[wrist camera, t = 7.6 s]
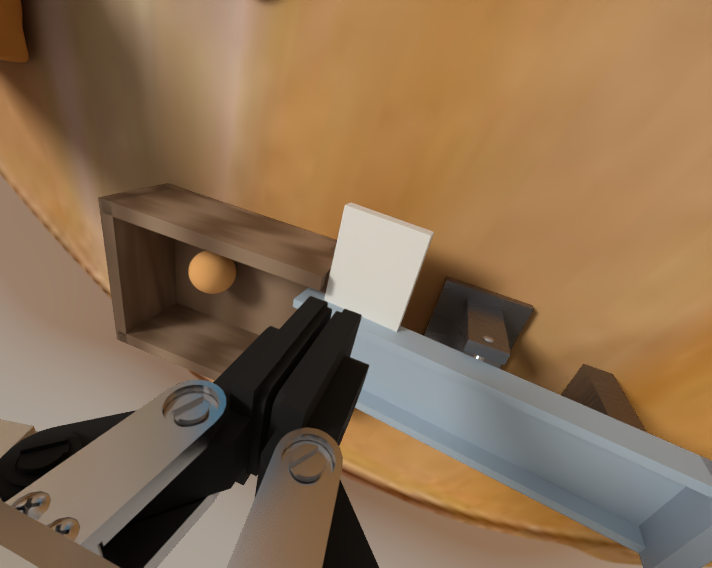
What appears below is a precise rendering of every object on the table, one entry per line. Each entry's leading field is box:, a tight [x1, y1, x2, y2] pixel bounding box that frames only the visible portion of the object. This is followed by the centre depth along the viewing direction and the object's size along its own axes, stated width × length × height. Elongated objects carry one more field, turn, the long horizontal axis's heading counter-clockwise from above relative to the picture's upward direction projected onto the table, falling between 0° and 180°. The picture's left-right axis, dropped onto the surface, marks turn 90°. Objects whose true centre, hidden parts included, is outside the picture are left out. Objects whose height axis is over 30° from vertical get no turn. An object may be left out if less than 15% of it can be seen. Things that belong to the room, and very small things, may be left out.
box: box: [98, 184, 337, 380], centre depth 27 cm, size 16×12×6 cm
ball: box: [188, 250, 236, 294], centre depth 27 cm, size 4×4×4 cm
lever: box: [293, 203, 712, 568], centre depth 19 cm, size 24×12×3 cm, turn 76°
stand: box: [423, 277, 647, 433], centre depth 23 cm, size 13×10×6 cm
